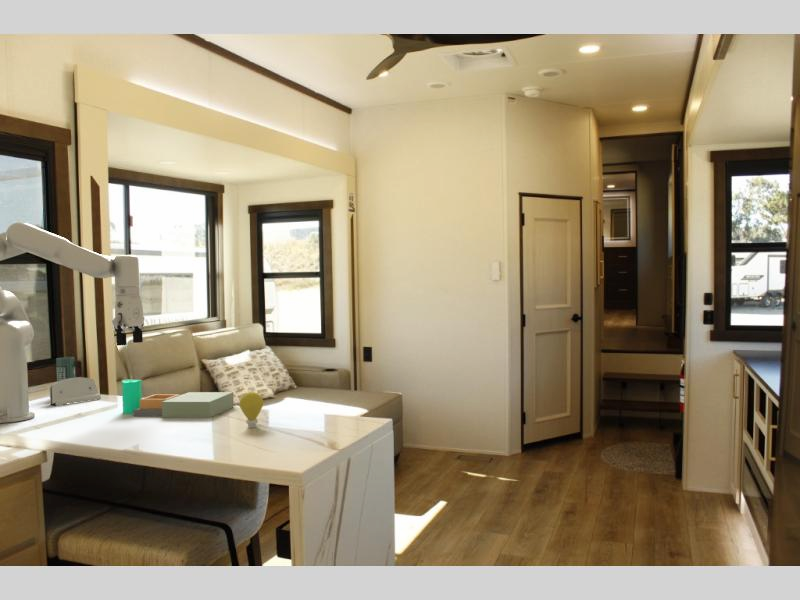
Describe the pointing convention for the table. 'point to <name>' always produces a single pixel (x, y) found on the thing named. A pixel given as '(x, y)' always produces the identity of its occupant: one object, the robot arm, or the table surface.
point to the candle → (131, 395)
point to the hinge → (73, 391)
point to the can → (65, 368)
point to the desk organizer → (185, 405)
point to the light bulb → (251, 407)
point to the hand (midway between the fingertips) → (130, 343)
